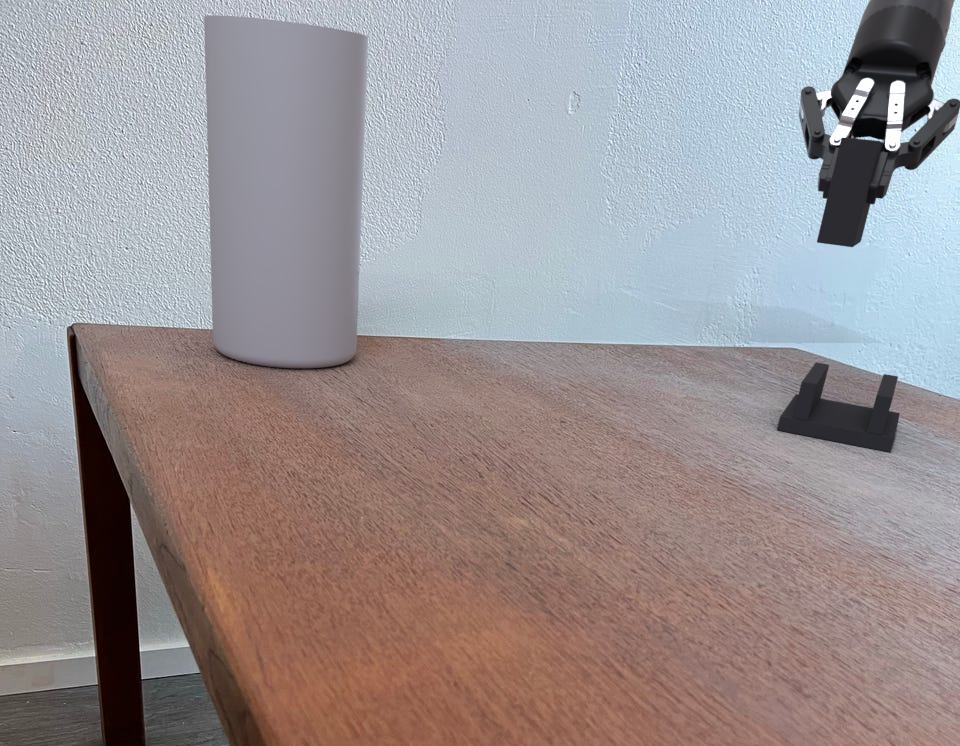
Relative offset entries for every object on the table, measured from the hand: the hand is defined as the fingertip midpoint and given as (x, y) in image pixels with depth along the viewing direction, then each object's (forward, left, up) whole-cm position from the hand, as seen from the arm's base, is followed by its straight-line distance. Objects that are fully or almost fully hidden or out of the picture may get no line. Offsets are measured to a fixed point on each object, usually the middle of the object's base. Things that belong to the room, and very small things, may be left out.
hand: (849, 193), depth 83 cm
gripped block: (-1, -2, -4) cm, 4 cm away
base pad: (0, +8, -18) cm, 20 cm away
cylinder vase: (+46, -8, -18) cm, 50 cm away
